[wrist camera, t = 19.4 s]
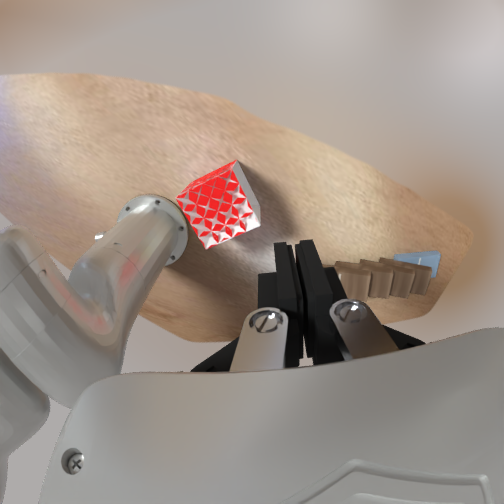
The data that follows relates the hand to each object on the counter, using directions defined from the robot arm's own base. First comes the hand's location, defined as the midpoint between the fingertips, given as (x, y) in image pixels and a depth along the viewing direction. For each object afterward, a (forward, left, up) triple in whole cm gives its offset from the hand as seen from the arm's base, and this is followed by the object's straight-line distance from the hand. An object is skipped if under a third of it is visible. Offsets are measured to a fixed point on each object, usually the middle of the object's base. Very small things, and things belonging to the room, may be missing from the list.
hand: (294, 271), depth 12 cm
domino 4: (+17, -20, -28) cm, 39 cm away
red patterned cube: (-7, -4, -30) cm, 31 cm away
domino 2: (+9, -20, -29) cm, 36 cm away
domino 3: (+13, -20, -28) cm, 37 cm away
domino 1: (+5, -20, -29) cm, 35 cm away
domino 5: (+21, -20, -29) cm, 40 cm away
